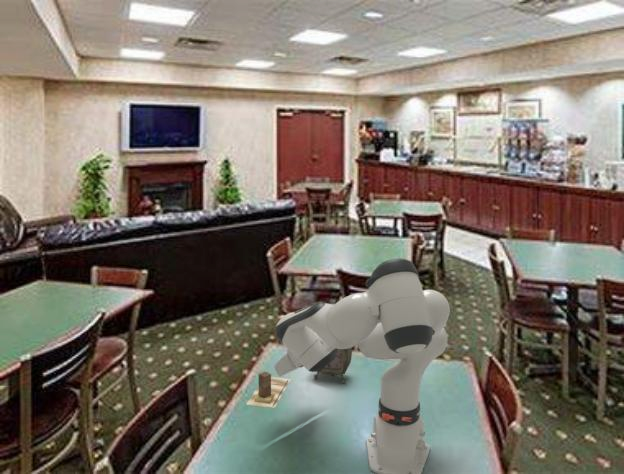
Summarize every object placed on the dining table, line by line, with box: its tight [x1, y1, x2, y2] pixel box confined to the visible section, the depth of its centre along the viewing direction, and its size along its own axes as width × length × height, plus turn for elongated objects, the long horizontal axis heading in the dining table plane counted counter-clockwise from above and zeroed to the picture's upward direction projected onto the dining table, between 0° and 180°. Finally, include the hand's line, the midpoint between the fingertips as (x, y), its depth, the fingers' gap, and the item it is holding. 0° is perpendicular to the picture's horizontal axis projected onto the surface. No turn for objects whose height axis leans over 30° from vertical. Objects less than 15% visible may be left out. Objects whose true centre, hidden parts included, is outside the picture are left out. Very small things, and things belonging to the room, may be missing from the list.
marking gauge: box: [255, 371, 275, 403], centre depth 179 cm, size 6×6×9 cm
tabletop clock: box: [313, 347, 353, 384], centre depth 197 cm, size 14×9×25 cm, turn 73°
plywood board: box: [245, 376, 292, 409], centre depth 185 cm, size 22×10×2 cm, turn 168°
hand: (290, 369), depth 169 cm, fingers open, 8 cm apart
